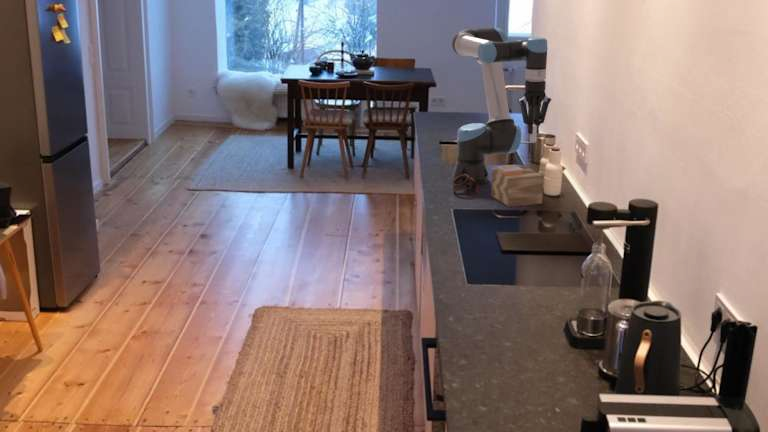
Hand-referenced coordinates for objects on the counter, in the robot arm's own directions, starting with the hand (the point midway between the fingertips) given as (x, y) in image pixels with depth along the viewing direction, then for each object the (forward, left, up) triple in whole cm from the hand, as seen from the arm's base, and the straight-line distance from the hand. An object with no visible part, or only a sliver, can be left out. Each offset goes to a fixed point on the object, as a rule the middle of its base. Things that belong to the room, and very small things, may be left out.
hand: (532, 141), depth 327 cm
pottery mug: (-17, -20, -23) cm, 35 cm away
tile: (0, -9, -11) cm, 14 cm away
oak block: (0, -6, -22) cm, 23 cm away
